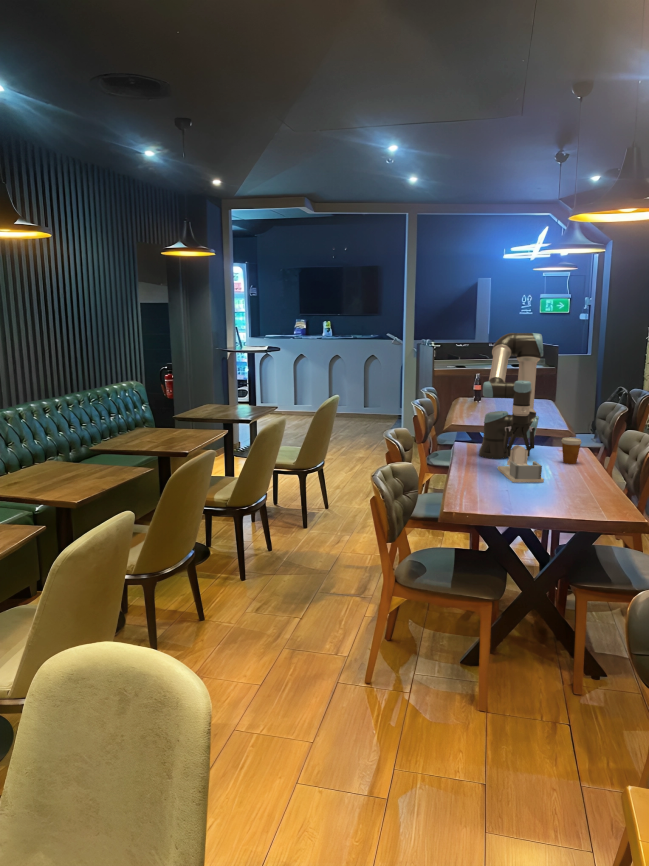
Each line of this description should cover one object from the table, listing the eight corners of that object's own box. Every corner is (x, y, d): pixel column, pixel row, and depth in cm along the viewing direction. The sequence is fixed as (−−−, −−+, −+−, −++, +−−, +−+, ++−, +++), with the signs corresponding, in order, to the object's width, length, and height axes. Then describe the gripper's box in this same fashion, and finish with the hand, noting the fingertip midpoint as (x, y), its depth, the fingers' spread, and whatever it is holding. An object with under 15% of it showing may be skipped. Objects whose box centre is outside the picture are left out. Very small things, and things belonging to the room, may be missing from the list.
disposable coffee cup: (578, 460, 315) (580, 437, 313) (581, 465, 306) (583, 441, 304) (558, 459, 318) (560, 436, 315) (560, 464, 309) (562, 440, 306)
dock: (497, 469, 299) (498, 454, 297) (526, 469, 299) (527, 454, 297) (512, 482, 276) (513, 465, 275) (543, 482, 276) (544, 465, 275)
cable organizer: (516, 464, 296) (517, 443, 294) (528, 468, 287) (530, 447, 285) (506, 464, 294) (508, 443, 293) (518, 469, 285) (520, 448, 283)
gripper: (502, 415, 282) (499, 465, 287) (544, 415, 282) (541, 465, 287) (497, 413, 290) (494, 461, 294) (538, 413, 290) (535, 461, 294)
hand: (517, 463), depth 290 cm, fingers closed on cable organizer, 6 cm apart
